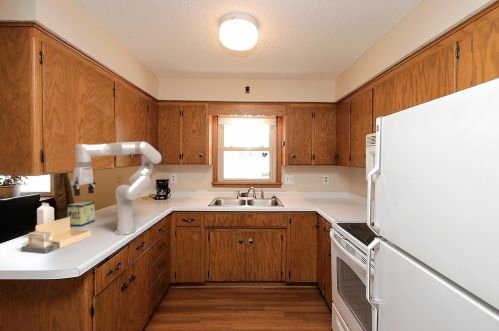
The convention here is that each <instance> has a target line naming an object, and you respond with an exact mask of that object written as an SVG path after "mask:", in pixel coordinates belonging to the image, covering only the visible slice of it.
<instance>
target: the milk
mask: <svg viewBox="0 0 499 331" xmlns="http://www.w3.org/2000/svg"><path fill="white" fill-rule="evenodd" d="M36 216H37V217H36V221H37V222H36V223H37V224H36V225H40V224H44V223H48V222H52V221H55V208H54V207H53V206H50V203H49V202H48V203H47V202H42V203H41V206H39V207H38V208H37V209H36Z"/></svg>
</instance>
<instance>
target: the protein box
mask: <svg viewBox="0 0 499 331" xmlns="http://www.w3.org/2000/svg"><path fill="white" fill-rule="evenodd" d="M95 205H96V204H95V201H78V202H75V203H70V204H68V205H67V206H66V207H67V217H70V227H84V226H86V225H89V224H92V223H94V222H95V221H96V209H95V208H96V206H95Z"/></svg>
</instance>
